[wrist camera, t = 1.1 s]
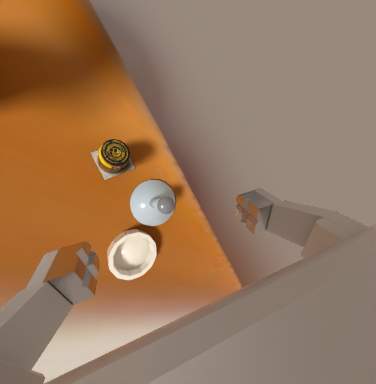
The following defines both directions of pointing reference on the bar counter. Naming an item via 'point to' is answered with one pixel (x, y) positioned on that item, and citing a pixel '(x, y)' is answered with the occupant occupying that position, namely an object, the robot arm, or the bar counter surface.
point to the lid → (152, 202)
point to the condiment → (113, 158)
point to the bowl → (131, 254)
